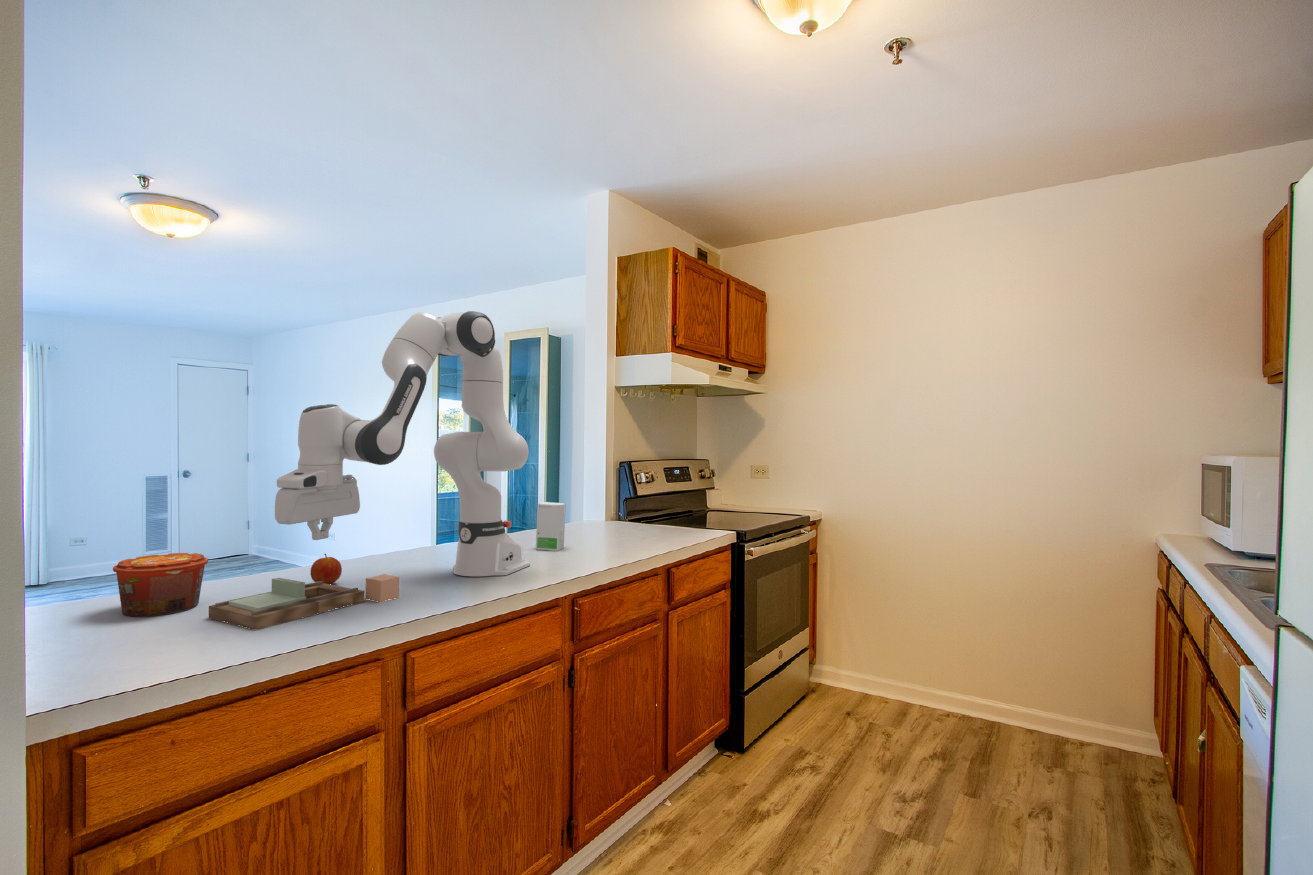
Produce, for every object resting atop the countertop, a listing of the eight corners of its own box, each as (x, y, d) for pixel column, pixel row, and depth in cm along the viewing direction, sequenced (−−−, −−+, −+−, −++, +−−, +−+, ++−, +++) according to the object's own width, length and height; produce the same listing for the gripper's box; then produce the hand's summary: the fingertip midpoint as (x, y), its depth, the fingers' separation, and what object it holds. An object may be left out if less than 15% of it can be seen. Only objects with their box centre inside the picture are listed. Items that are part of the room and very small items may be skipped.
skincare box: (535, 550, 208) (535, 503, 208) (542, 546, 215) (542, 501, 215) (559, 551, 207) (559, 504, 207) (565, 547, 214) (566, 502, 214)
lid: (277, 594, 137) (277, 577, 137) (306, 600, 132) (306, 582, 132) (228, 605, 128) (229, 586, 128) (257, 611, 123) (258, 592, 123)
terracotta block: (384, 595, 148) (384, 574, 148) (398, 598, 145) (399, 576, 145) (365, 600, 143) (365, 578, 143) (380, 602, 141) (380, 580, 141)
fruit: (339, 580, 161) (340, 549, 161) (343, 586, 155) (343, 554, 155) (309, 583, 157) (309, 552, 157) (311, 589, 152) (311, 556, 152)
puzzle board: (319, 592, 148) (319, 579, 148) (364, 601, 141) (364, 588, 141) (208, 618, 127) (208, 602, 127) (255, 630, 120) (255, 614, 120)
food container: (178, 596, 144) (179, 549, 144) (224, 604, 138) (224, 555, 138) (94, 613, 129) (95, 562, 129) (141, 623, 123) (142, 569, 123)
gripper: (345, 473, 150) (345, 530, 150) (269, 480, 130) (269, 546, 130) (366, 474, 148) (366, 532, 148) (292, 481, 128) (292, 548, 128)
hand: (320, 539), depth 139 cm, fingers closed
